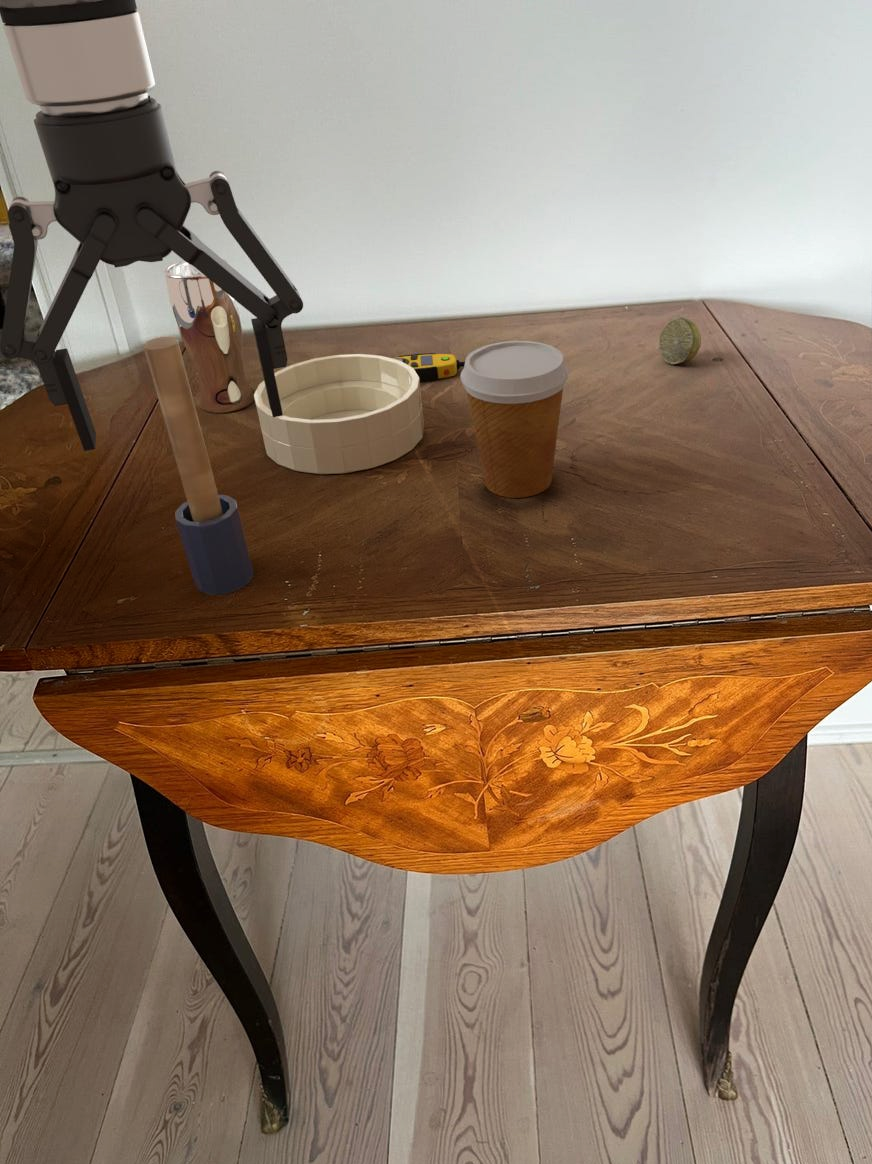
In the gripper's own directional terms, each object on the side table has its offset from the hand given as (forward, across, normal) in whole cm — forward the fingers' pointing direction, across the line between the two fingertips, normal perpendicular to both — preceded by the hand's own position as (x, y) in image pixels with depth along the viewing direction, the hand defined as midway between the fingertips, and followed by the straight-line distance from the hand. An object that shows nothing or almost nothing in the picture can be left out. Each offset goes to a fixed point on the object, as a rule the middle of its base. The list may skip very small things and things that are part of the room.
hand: (184, 426), depth 71 cm
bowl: (+14, -14, -22) cm, 30 cm away
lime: (+15, -54, -27) cm, 62 cm away
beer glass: (+14, -3, -37) cm, 40 cm away
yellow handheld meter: (+14, -28, -35) cm, 47 cm away
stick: (+14, 0, 0) cm, 14 cm away
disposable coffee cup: (+14, -28, -7) cm, 32 cm away
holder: (+14, 0, 0) cm, 14 cm away
